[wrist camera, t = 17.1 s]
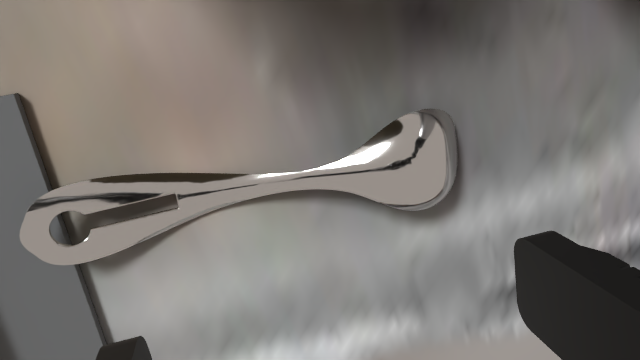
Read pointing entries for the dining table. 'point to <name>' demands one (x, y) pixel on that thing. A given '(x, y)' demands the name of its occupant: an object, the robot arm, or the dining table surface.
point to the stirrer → (253, 188)
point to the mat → (36, 261)
